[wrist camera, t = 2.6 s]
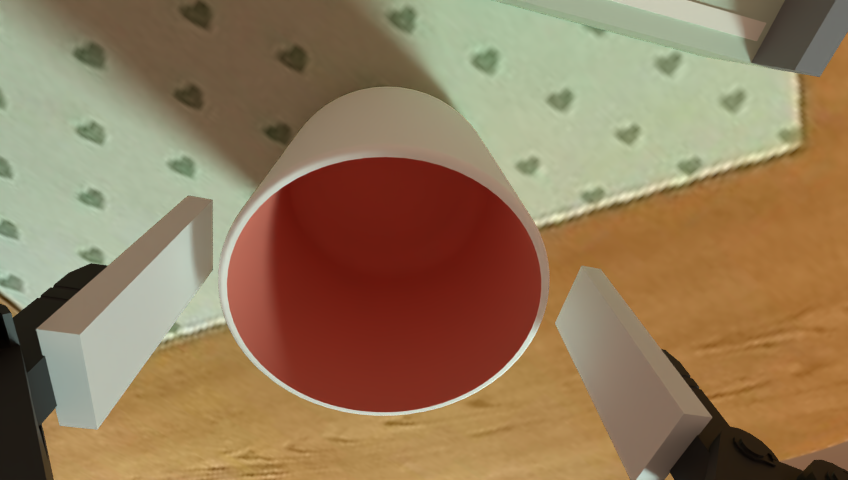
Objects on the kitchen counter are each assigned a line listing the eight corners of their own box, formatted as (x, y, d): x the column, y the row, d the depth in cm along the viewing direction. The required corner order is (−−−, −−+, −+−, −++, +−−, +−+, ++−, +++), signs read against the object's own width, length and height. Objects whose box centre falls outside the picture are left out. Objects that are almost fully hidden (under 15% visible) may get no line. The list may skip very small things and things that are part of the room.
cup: (245, 171, 21) (141, 291, 12) (405, 31, 19) (414, 57, 10) (379, 298, 25) (372, 454, 16) (525, 197, 23) (606, 320, 14)
